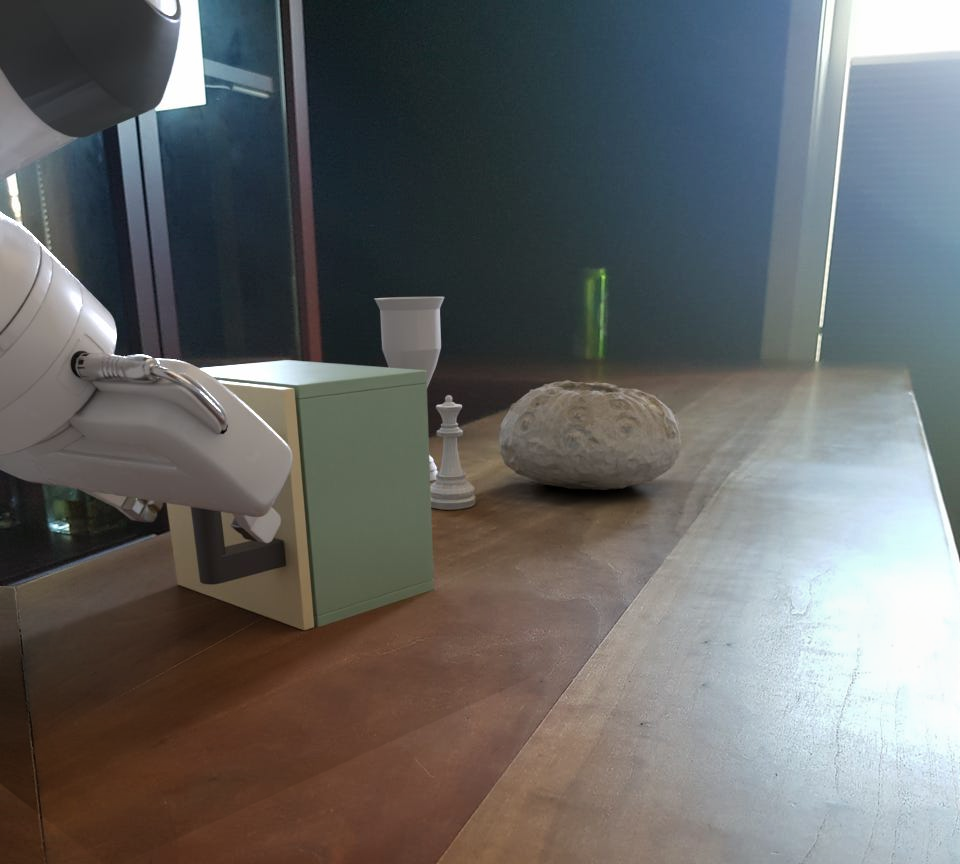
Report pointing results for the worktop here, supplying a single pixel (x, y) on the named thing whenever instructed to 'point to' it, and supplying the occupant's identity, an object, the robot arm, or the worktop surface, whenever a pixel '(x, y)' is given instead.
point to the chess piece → (450, 464)
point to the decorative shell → (589, 436)
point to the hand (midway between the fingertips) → (206, 521)
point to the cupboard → (358, 479)
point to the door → (245, 563)
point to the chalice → (412, 336)
